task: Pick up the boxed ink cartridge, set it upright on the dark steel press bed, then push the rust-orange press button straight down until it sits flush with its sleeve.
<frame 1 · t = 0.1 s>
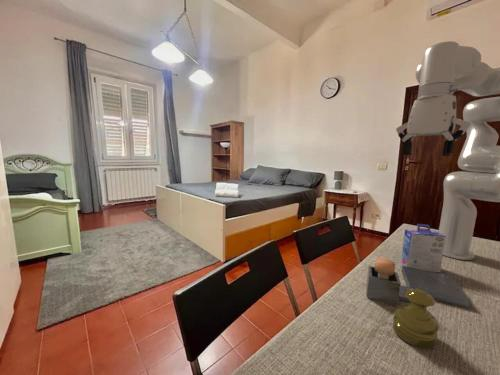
hand: (425, 155, 65), 37 cm above the table, tool pointing down, fingers open, 9 cm apart
olive green swirled figurine: (412, 335, 46), on the table
ink cartridge box: (419, 267, 75), on the table
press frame: (430, 287, 63), on the table
ram button: (383, 271, 58), point 7 cm above the table, slide at 0.0 cm
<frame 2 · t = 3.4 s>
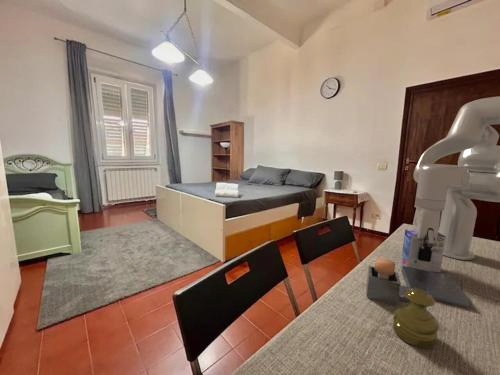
hand: (421, 255, 74), 4 cm above the table, tool pointing down, fingers closed on ink cartridge box, 6 cm apart
ink cartridge box: (419, 267, 75), on the table, touching gripper
everything else where it was.
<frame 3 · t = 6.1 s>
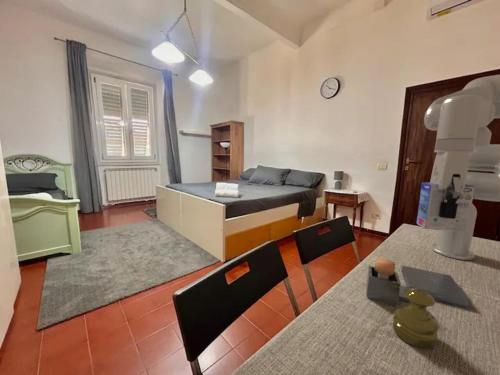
hand: (442, 213, 60), 22 cm above the table, tool pointing down, fingers closed on ink cartridge box, 6 cm apart
ink cartridge box: (439, 228, 61), point 17 cm above the table, touching gripper
everything else where it was.
when the fingers open (7 cm above the table, at t = 9.2 s): ink cartridge box drops 1 cm, resting on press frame.
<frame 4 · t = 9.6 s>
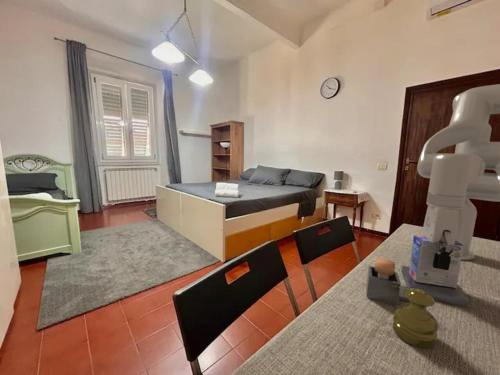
hand: (434, 260, 62), 8 cm above the table, tool pointing down, fingers open, 9 cm apart
ink cartridge box: (430, 280, 63), point 2 cm above the table, touching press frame
everything else where it was.
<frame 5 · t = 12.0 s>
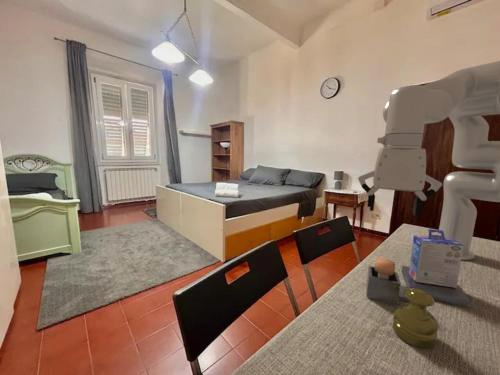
hand: (392, 212, 56), 23 cm above the table, tool pointing down, fingers open, 9 cm apart
nothing on the table moved.
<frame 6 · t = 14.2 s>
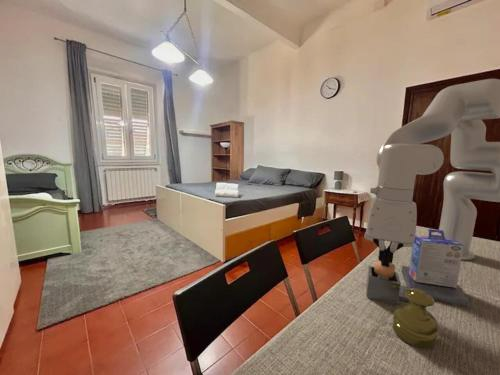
hand: (384, 263, 58), 9 cm above the table, tool pointing down, fingers closed
ram button: (383, 273, 58), point 6 cm above the table, slide at 0.6 cm, touching gripper
everything else where it was.
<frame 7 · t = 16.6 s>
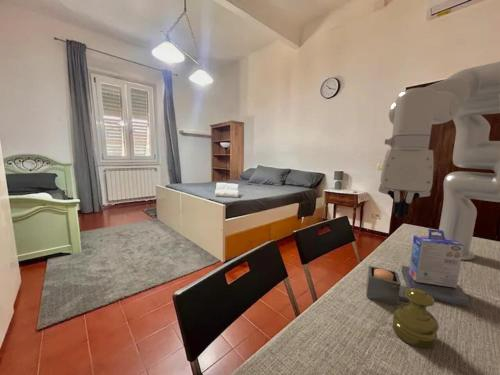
hand: (399, 216, 57), 21 cm above the table, tool pointing down, fingers closed
ram button: (382, 282, 59), point 4 cm above the table, slide at 3.2 cm
everything else where it was.
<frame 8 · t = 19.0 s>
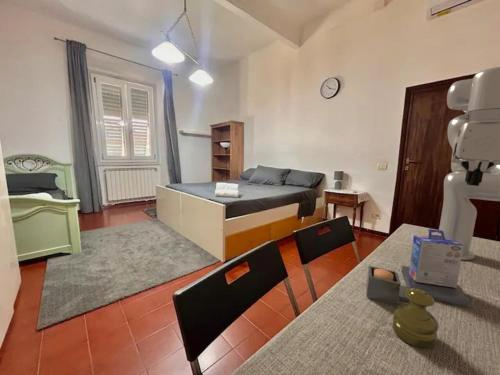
hand: (472, 185, 63), 29 cm above the table, tool pointing down, fingers closed
nothing on the table moved.
at the end: ink cartridge box inside the target area on the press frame (0.3 cm from its centre), point 1.8 cm above the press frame's base; ink cartridge box tilted 0°; ram button slide at 3.2 cm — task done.
